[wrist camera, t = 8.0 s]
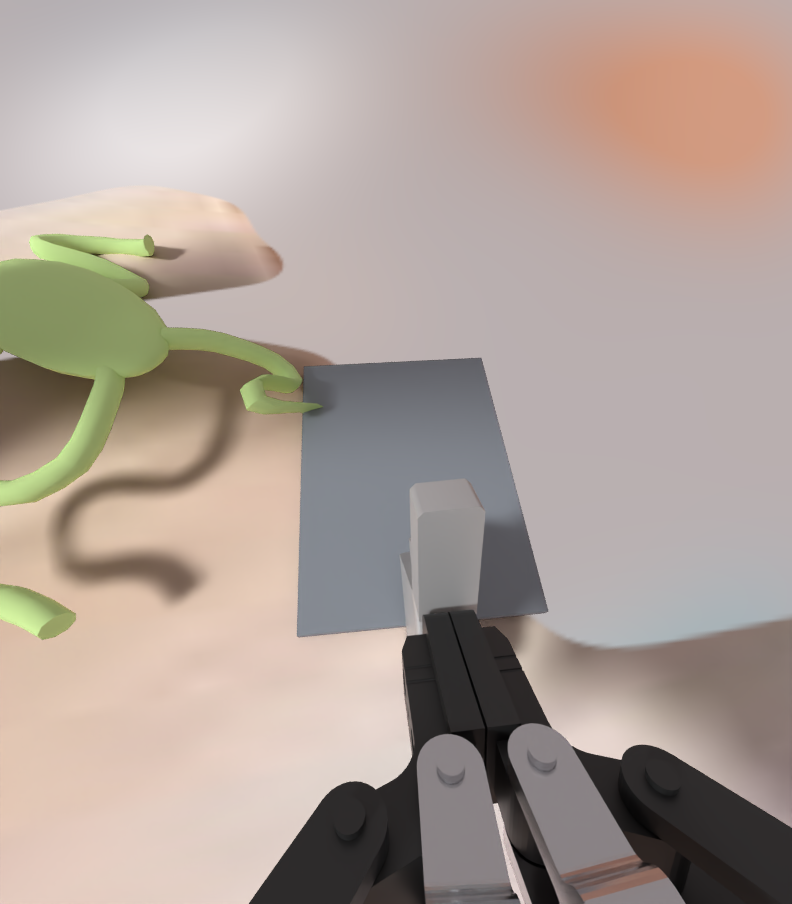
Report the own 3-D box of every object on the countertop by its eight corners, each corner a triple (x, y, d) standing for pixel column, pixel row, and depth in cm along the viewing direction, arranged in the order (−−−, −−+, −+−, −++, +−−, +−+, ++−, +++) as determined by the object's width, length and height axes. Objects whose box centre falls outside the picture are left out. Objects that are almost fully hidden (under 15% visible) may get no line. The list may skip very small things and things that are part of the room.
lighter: (407, 650, 17) (391, 466, 17) (447, 644, 17) (432, 462, 17) (441, 799, 10) (415, 489, 10) (507, 788, 10) (484, 483, 10)
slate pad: (299, 637, 17) (296, 636, 17) (305, 371, 25) (303, 366, 24) (544, 613, 18) (548, 611, 18) (479, 363, 26) (481, 357, 25)
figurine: (18, 716, 16) (-139, 732, 11) (-145, 351, 25) (-271, 271, 20) (361, 446, 23) (357, 382, 18) (137, 234, 32) (93, 153, 27)
